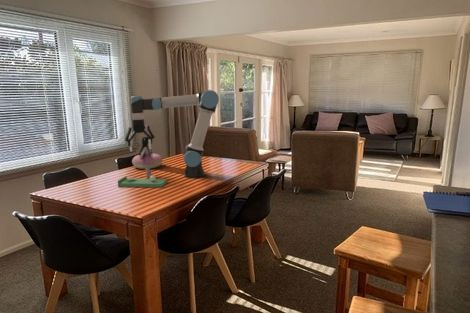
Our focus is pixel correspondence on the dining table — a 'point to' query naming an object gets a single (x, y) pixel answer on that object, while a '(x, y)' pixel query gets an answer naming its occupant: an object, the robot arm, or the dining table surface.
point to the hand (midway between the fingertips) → (140, 150)
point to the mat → (141, 182)
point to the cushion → (138, 163)
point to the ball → (152, 178)
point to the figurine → (146, 156)
